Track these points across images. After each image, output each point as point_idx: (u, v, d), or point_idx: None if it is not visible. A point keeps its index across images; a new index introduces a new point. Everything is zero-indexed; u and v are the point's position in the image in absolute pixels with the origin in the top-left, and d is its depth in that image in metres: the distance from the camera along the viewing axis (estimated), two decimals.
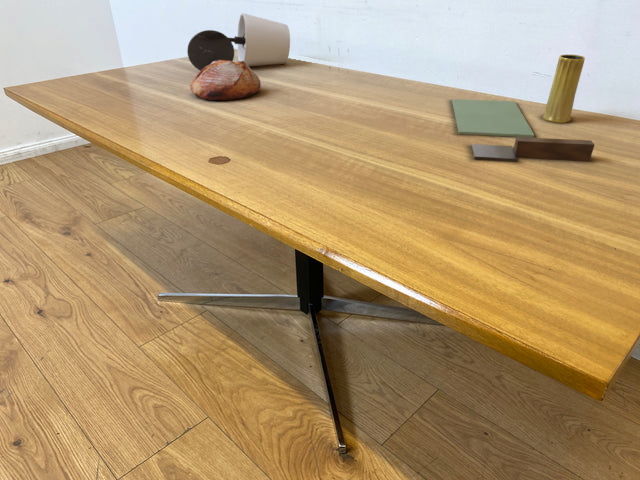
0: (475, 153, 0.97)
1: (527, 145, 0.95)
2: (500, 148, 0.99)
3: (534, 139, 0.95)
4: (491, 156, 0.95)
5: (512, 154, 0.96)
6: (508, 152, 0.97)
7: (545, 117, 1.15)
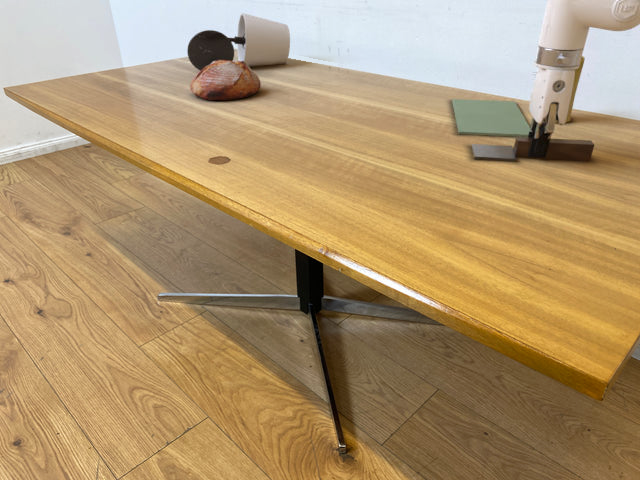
0: (475, 153, 0.97)
1: (527, 145, 0.95)
2: (500, 148, 0.99)
3: None
4: (491, 156, 0.95)
5: (512, 154, 0.96)
6: (508, 152, 0.97)
7: None
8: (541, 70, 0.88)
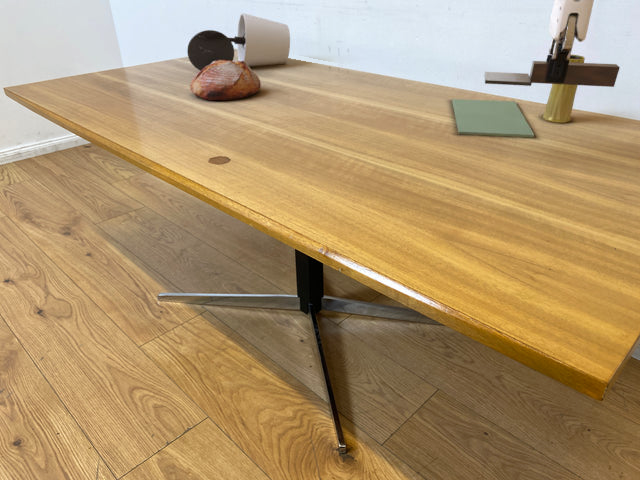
0: (486, 78, 0.90)
1: (544, 68, 0.87)
2: (515, 75, 0.92)
3: None
4: (503, 80, 0.88)
5: (527, 79, 0.89)
6: (523, 78, 0.90)
7: (545, 117, 1.15)
8: None
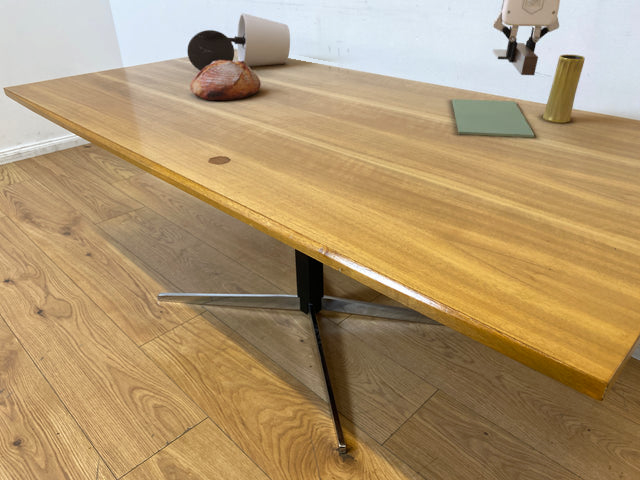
0: (500, 49, 1.10)
1: None
2: None
3: (521, 45, 1.00)
4: (497, 52, 1.08)
5: None
6: None
7: (545, 117, 1.15)
8: None
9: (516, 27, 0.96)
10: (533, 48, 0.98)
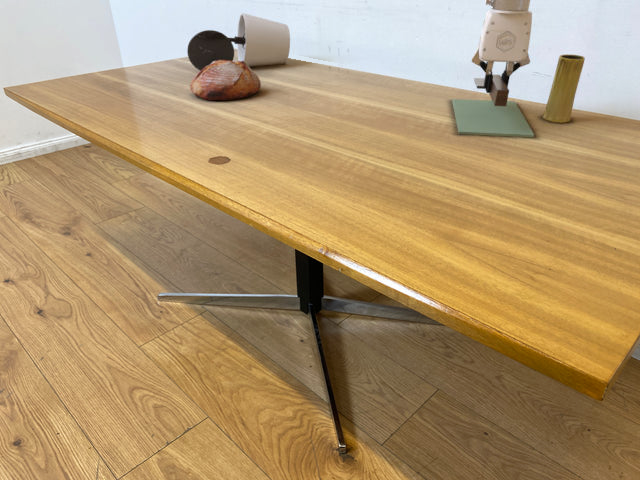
0: (481, 78, 1.22)
1: None
2: None
3: (497, 77, 1.11)
4: (477, 81, 1.20)
5: None
6: None
7: (545, 117, 1.15)
8: None
9: (491, 62, 1.08)
10: (507, 80, 1.10)
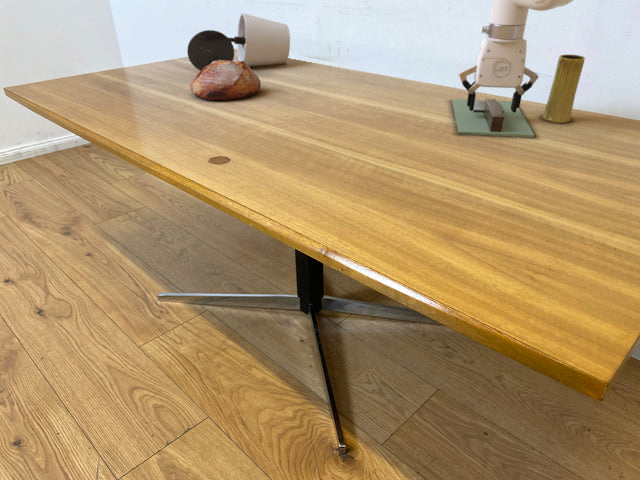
0: (477, 101, 1.25)
1: (485, 104, 1.16)
2: None
3: (492, 102, 1.14)
4: (474, 104, 1.23)
5: (482, 109, 1.19)
6: None
7: (545, 117, 1.15)
8: None
9: None
10: (519, 100, 1.12)
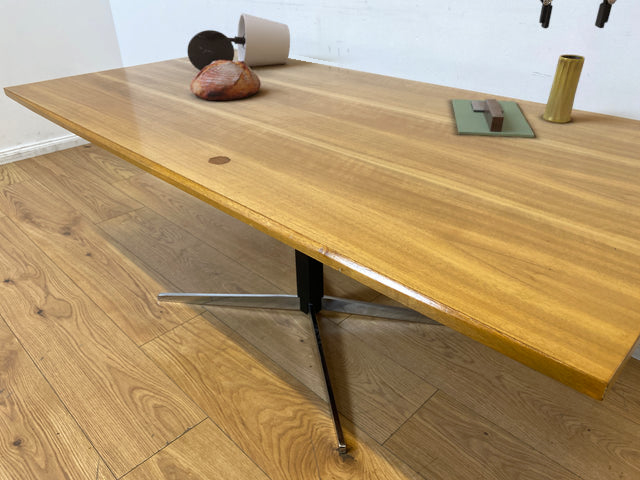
0: (477, 101, 1.25)
1: (485, 104, 1.16)
2: None
3: (492, 102, 1.14)
4: (474, 104, 1.23)
5: (482, 109, 1.19)
6: None
7: (545, 117, 1.15)
8: None
9: None
10: (608, 11, 0.89)
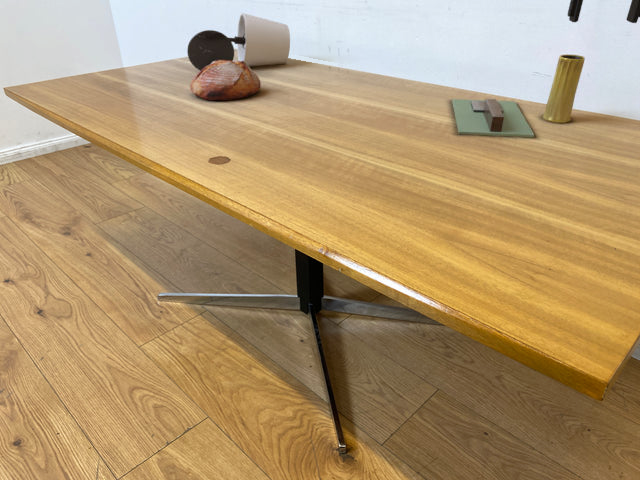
0: (477, 101, 1.25)
1: (485, 104, 1.16)
2: None
3: (492, 102, 1.14)
4: (474, 104, 1.23)
5: (482, 109, 1.19)
6: None
7: (545, 117, 1.15)
8: None
9: None
10: None
